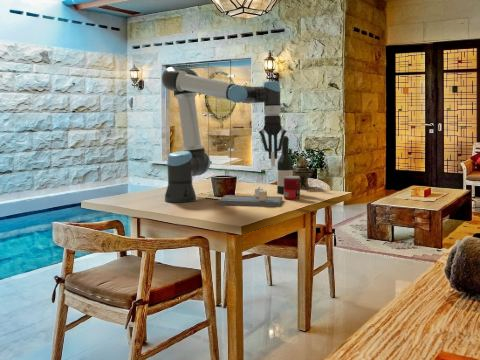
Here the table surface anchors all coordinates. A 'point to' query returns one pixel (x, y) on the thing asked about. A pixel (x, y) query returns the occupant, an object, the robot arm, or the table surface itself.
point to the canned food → (291, 187)
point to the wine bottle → (284, 166)
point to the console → (249, 200)
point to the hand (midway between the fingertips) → (273, 166)
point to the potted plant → (302, 172)
